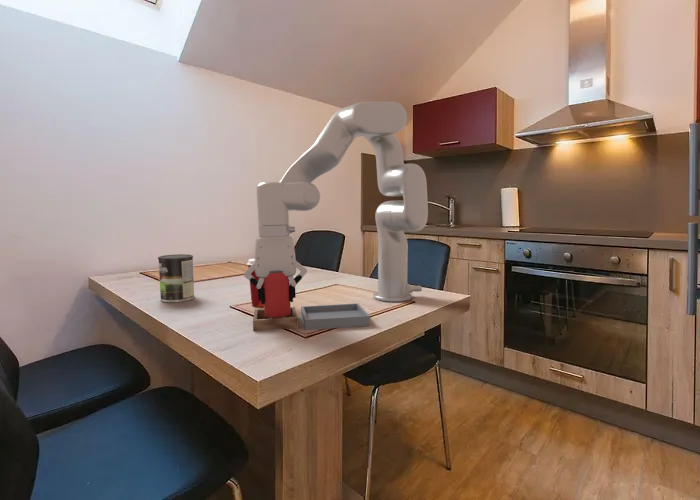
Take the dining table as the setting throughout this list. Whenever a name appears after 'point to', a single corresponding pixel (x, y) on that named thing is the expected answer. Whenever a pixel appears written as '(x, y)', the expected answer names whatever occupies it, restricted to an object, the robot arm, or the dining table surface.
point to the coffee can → (176, 277)
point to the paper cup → (254, 287)
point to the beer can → (276, 295)
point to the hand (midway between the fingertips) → (277, 301)
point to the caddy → (274, 321)
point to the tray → (334, 316)
